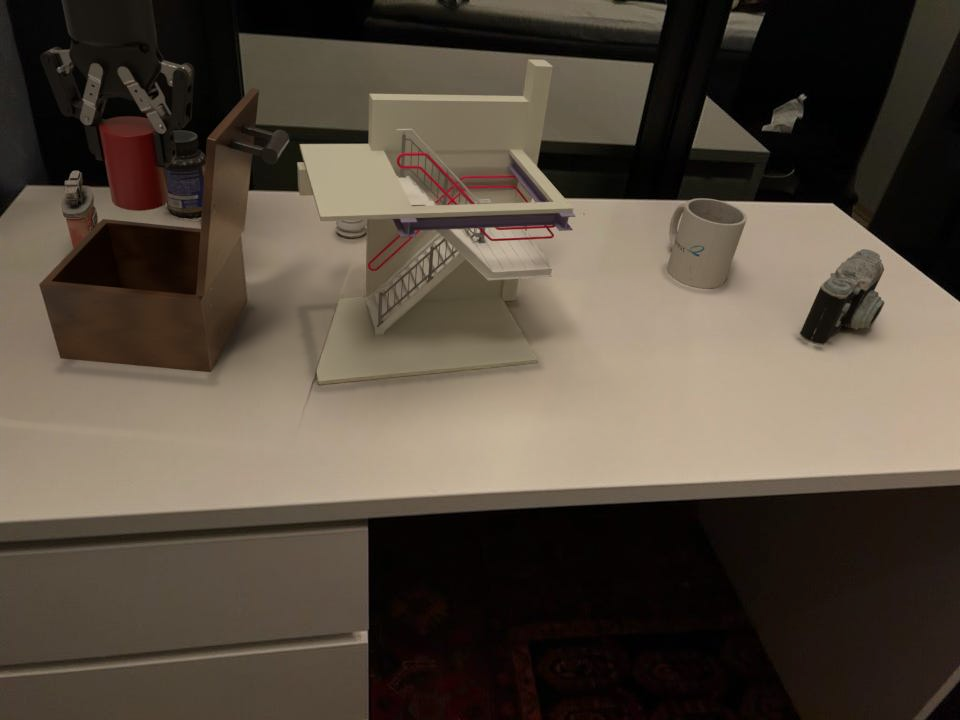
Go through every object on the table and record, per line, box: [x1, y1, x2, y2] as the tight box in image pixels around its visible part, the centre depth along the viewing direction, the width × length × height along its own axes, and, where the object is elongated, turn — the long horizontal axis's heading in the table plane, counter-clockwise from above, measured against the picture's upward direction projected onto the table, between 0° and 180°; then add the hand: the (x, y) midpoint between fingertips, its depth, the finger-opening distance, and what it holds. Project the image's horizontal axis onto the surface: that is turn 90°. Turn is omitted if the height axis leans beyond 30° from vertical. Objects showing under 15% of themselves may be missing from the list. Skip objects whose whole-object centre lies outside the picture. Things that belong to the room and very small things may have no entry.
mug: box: [666, 197, 748, 289], centre depth 108 cm, size 12×9×10 cm
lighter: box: [60, 170, 99, 250], centre depth 93 cm, size 8×3×10 cm, turn 16°
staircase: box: [296, 59, 576, 386], centre depth 80 cm, size 28×18×30 cm, turn 107°
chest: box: [38, 218, 248, 373], centre depth 81 cm, size 16×15×10 cm
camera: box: [799, 248, 885, 346], centre depth 98 cm, size 15×7×10 cm, turn 137°
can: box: [99, 115, 169, 212], centre depth 77 cm, size 6×6×8 cm
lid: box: [196, 87, 290, 296], centre depth 74 cm, size 16×15×5 cm
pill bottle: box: [165, 129, 206, 218], centre depth 105 cm, size 6×6×11 cm
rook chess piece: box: [335, 220, 367, 239], centre depth 106 cm, size 4×4×8 cm
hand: (135, 160), depth 77 cm, fingers closed on can, 5 cm apart
